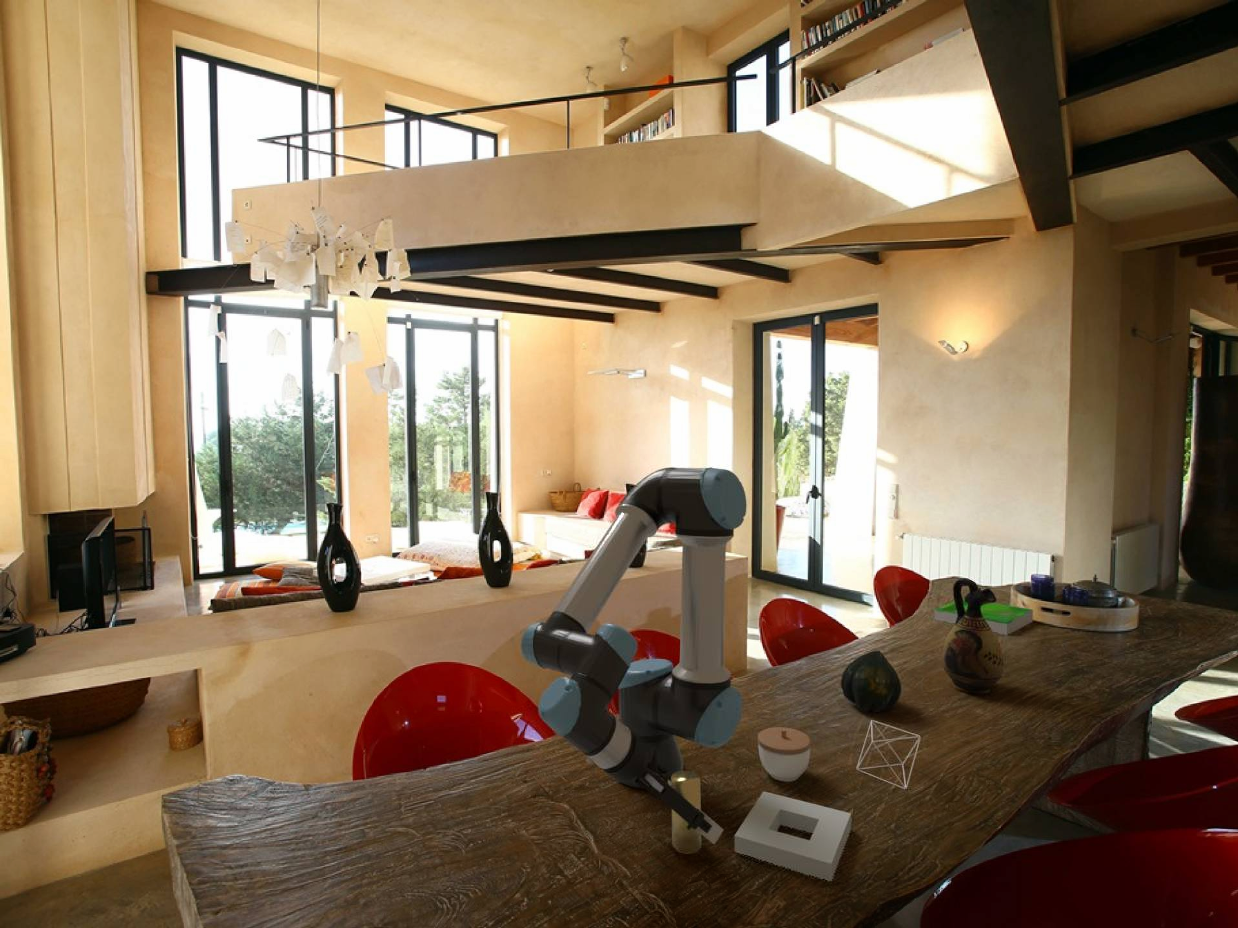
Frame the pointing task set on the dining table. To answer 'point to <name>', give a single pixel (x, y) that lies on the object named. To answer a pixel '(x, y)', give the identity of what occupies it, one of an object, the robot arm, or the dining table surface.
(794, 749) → the lidded jar
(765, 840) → the frame
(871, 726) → the geometric polyhedron
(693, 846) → the gold cylinder
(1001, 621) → the tray
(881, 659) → the squash
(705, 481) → the robot arm
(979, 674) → the ceramic jug
